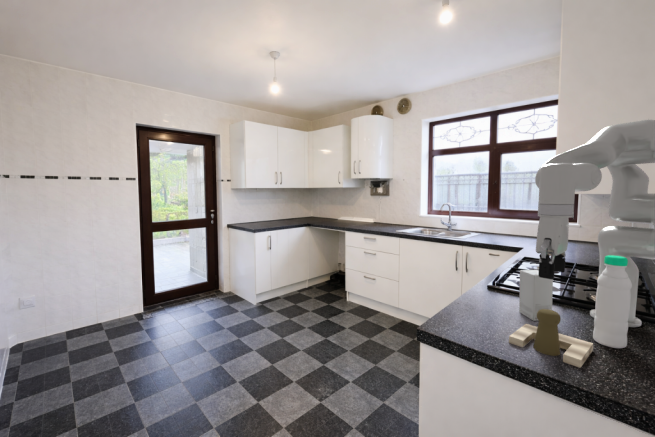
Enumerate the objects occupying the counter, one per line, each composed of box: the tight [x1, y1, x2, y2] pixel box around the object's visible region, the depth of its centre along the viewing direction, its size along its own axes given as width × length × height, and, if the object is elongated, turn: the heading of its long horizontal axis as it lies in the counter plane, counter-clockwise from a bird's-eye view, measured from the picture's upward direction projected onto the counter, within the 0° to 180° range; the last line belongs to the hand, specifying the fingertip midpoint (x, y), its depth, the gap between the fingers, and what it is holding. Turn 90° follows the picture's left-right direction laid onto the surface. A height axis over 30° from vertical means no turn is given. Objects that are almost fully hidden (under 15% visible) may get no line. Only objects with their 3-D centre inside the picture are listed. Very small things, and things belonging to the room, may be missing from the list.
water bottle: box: [592, 255, 632, 349], centre depth 85 cm, size 7×7×25 cm
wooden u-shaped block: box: [508, 323, 594, 368], centre depth 84 cm, size 13×16×2 cm
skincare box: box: [518, 269, 554, 322], centre depth 104 cm, size 8×7×16 cm
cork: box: [532, 309, 561, 357], centre depth 82 cm, size 6×6×11 cm
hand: (551, 274), depth 81 cm, fingers open, 9 cm apart
